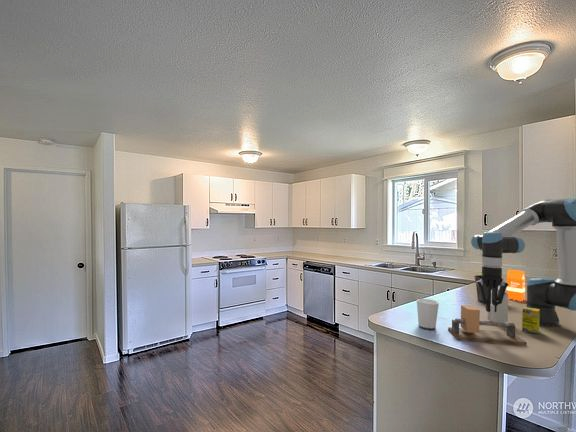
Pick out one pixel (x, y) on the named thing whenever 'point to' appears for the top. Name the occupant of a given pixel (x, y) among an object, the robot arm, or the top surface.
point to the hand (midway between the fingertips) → (491, 319)
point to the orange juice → (516, 285)
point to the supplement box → (530, 320)
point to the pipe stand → (487, 333)
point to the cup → (427, 313)
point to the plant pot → (482, 285)
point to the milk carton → (501, 309)
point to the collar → (470, 318)
